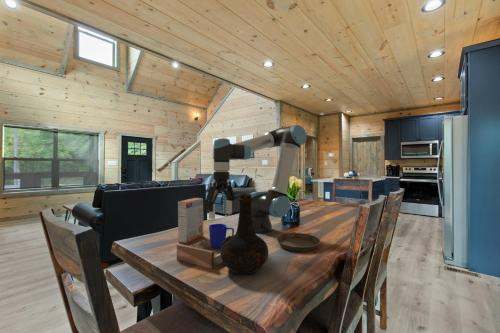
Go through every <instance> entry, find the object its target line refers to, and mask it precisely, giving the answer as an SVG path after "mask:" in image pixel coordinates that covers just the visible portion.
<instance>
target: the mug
mask: <svg viewBox="0 0 500 333" xmlns="http://www.w3.org/2000/svg"><path fill="white" fill-rule="evenodd" d="M208 230H209V244H210V245H209V246H210V247H211V248H213V249H221V246H222V245H221V244H222V242H223V241H224V240H225V238H227V231H228V230H230V231H231V230H232V233H231V236H232V235H235V228H233V227H228V226H227V224H223V223H213V224H209V225H208Z"/></svg>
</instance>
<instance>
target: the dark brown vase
mask: <svg viewBox="0 0 500 333" xmlns="http://www.w3.org/2000/svg"><path fill="white" fill-rule="evenodd" d="M250 194H251V193H248V194H247V193H241V194H240V193H239V194H238V195H239V198H237V199H236V200H237V201H239V208H238V209H239V211H238V212H239V213H238V221H237V228H236V232H235V233H234V235H232V234H231V235H228V236H226V238H225V240H224V241H223V242H222V244H221V245H222V246H221V248H220V253H221V258H222V260H223V262H222V263H223V264H224V265H225V266H226V267H227V269H229V270H230V271H231V272H234V273H236V274H240V275H247V274H252V273H255V272H257V271H259V270H260V269H261V268H262V267H263V266H264V265H265V264H266V263H267V260H268V257H269V246H268V245H267V243H266V241H265V240H264V239H263V238H261V237H260V236H258V235H257V233H255V231H254V226H253V219H252V206H251V201H253V200H254V199H251V195H250Z"/></svg>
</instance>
